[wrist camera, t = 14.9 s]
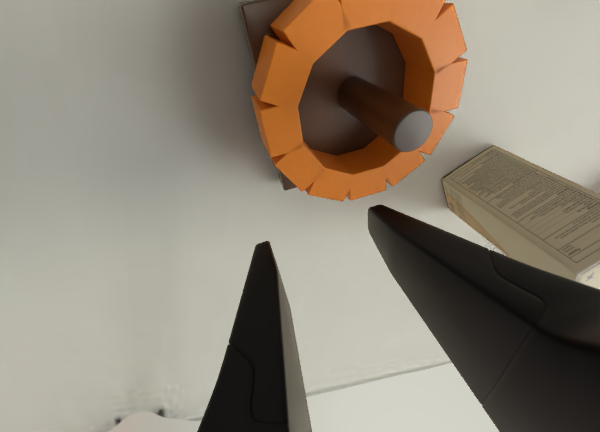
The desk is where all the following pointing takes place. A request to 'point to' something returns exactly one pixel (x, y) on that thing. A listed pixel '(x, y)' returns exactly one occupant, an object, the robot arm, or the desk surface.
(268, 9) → the brown peg stand
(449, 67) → the orange ring
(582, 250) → the box
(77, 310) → the desk surface
